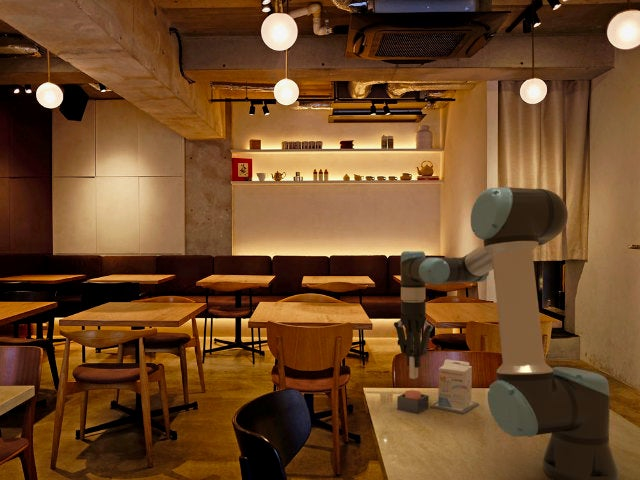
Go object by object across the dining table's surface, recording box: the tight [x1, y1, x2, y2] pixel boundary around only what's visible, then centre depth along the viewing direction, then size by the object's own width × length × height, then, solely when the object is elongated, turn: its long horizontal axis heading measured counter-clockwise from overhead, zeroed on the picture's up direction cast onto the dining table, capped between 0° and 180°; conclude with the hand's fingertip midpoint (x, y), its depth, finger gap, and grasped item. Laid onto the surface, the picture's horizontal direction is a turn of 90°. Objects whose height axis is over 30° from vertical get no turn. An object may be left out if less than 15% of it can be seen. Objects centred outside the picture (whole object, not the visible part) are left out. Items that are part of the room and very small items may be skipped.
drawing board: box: [429, 401, 480, 416], centre depth 169 cm, size 12×11×1 cm
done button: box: [404, 389, 422, 400], centre depth 166 cm, size 5×5×4 cm
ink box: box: [437, 358, 473, 409], centre depth 169 cm, size 9×8×13 cm
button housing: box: [396, 392, 430, 415], centre depth 166 cm, size 7×7×4 cm
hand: (413, 377), depth 166 cm, fingers closed
